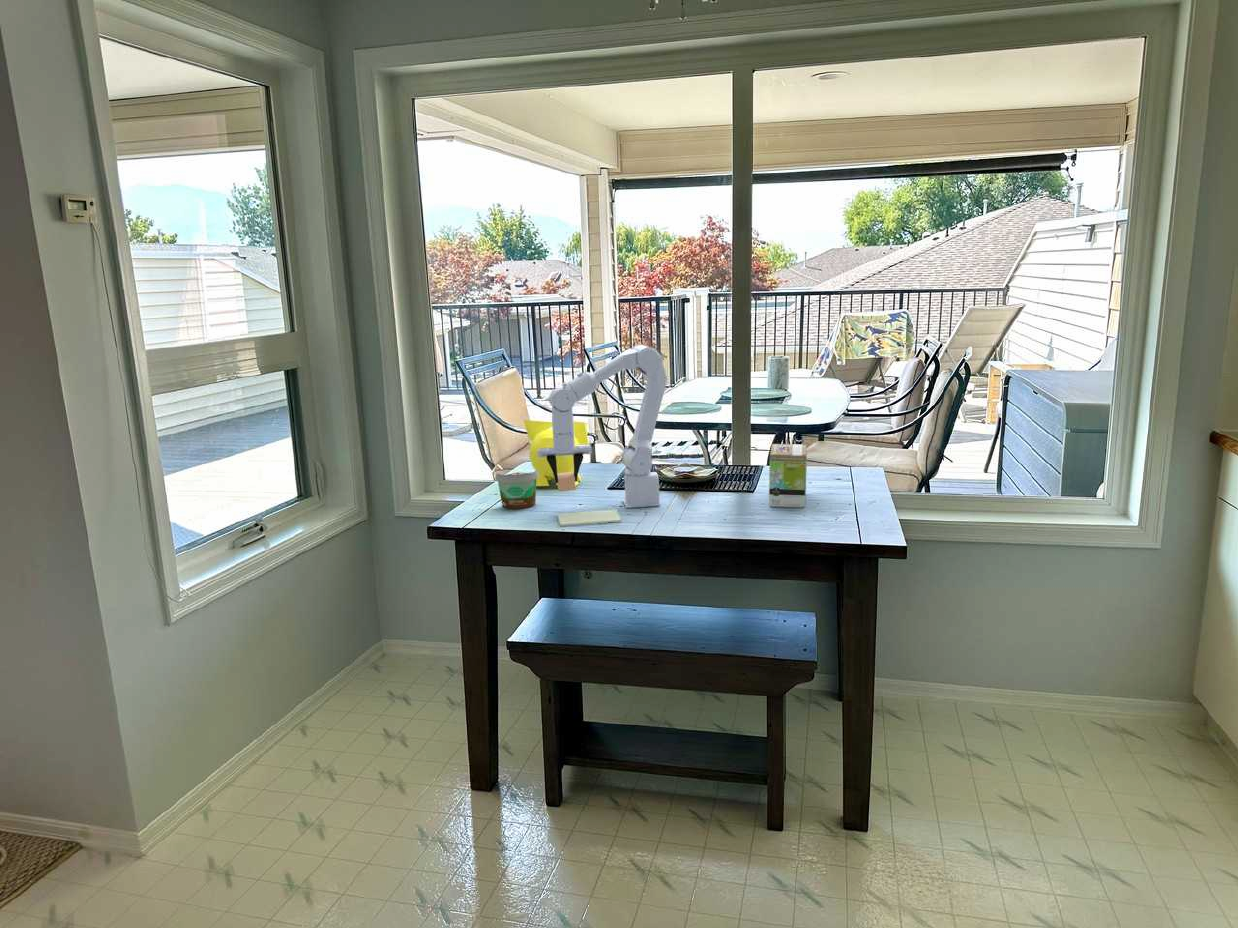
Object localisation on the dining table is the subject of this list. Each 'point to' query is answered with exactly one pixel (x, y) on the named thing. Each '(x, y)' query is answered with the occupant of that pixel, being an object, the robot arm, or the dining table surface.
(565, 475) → the light orange block
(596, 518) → the mat
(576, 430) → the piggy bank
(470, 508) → the dining table surface
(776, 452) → the tea box
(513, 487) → the food container
